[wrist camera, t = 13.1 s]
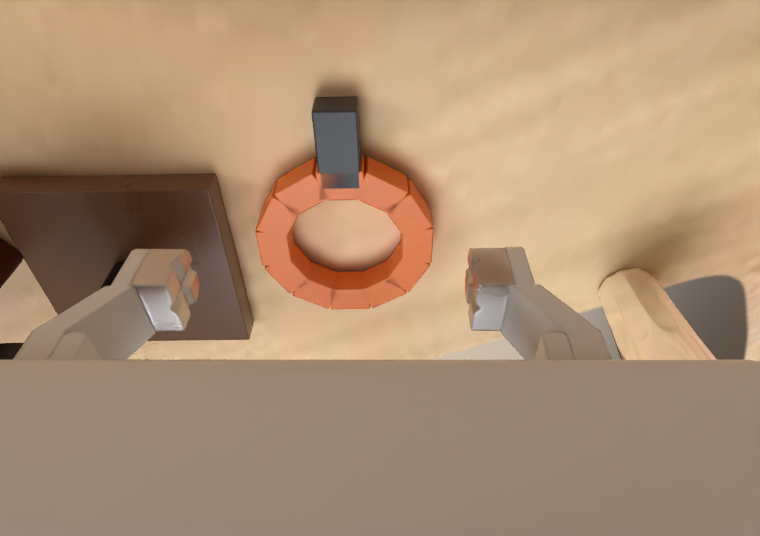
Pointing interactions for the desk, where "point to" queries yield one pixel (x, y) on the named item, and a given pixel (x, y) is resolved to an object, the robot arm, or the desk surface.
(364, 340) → the desk surface
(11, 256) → the box
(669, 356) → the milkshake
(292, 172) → the orange ring
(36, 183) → the black post stand
